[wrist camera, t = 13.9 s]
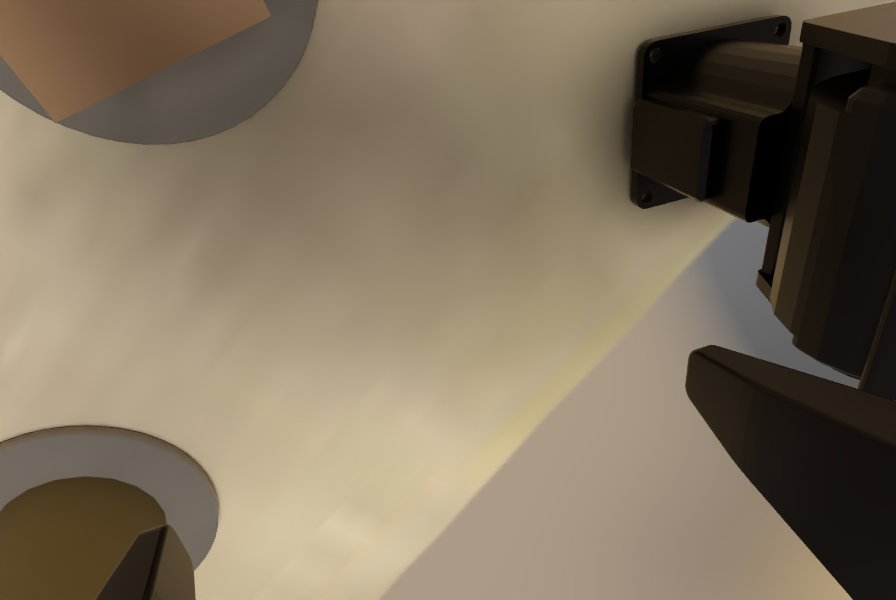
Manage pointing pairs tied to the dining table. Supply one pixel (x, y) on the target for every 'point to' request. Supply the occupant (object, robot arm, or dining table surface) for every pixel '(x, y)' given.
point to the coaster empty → (117, 474)
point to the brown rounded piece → (70, 536)
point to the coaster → (195, 84)
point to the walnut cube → (109, 42)
